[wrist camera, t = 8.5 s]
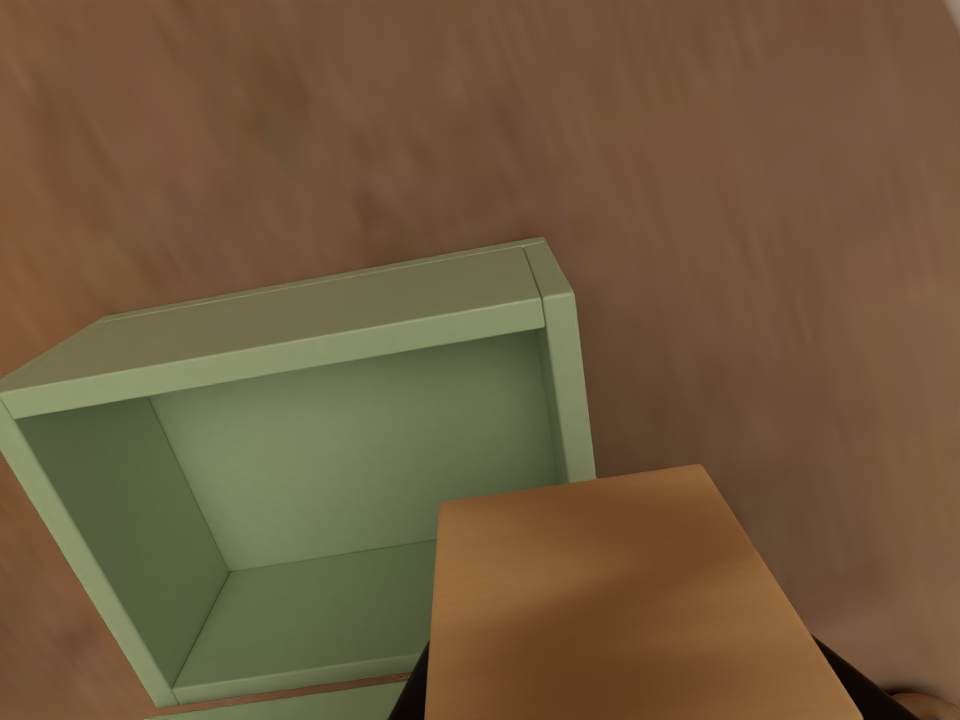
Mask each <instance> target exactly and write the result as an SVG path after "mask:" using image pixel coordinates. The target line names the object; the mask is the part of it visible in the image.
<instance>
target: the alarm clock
mask: <svg viewBox="0 0 960 720" xmlns="http://www.w3.org/2000/svg"><path fill="white" fill-rule="evenodd" d="M891 697H892V698H894V699H895V700H896V701H897V702H899V703H900V704H901V705H903V706H904V707H905V708H906V709H908V710H909V711H910V712H912V713H913V714H914V715H915V716H917V717H918V718H919V719H920V720H960V708H959V707H957V706H956V705H954V704H951V703H949V702H947V701H944V700H942V699H939V698H937V697H935V696H930V695H924V694H919V693H903V694H896V695H893V696H891Z"/></svg>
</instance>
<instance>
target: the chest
mask: <svg viewBox="0 0 960 720" xmlns="http://www.w3.org/2000/svg"><path fill="white" fill-rule="evenodd" d="M0 451H1V453H2V454H3V456H4V458H5V459H6V461H7V463H8V464H9V466H10V468H11V469H12V471H13V473H14V474H15V476H16V477H17V479H18V481H19V482H20V484H21V486H22V487H23V489H24V491H25V492H26V494H27V495H28V497H29V499H30V500H31V502H32V504H33V505H34V507H35V509H36V510H37V512H38V514H39V515H40V517H41V518H42V520H43V522H44V523H45V525H46V527H47V528H48V530H49V532H50V533H51V535H52V536H53V538H54V540H55V541H56V543H57V545H58V546H59V548H60V550H61V551H62V553H63V555H64V556H65V558H66V559H67V561H68V563H69V564H70V566H71V568H72V569H73V571H74V573H75V574H76V576H77V577H78V579H79V581H80V582H81V584H82V586H83V587H84V589H85V591H86V592H87V594H88V596H89V597H90V599H91V600H92V602H93V604H94V605H95V607H96V609H97V610H98V612H99V614H100V615H101V617H102V619H103V620H104V622H105V623H106V625H107V627H108V628H109V630H110V632H111V633H112V635H113V637H114V638H115V640H116V641H117V643H118V645H119V646H120V648H121V650H122V651H123V653H124V655H125V656H126V658H127V660H128V661H129V663H130V664H131V666H132V668H133V669H134V671H135V673H136V674H137V676H138V678H139V679H140V681H141V682H142V684H143V686H144V687H145V689H146V691H147V692H148V694H149V696H150V697H151V699H152V701H153V702H154V704H155V705H156V707H157V708H164V707H171V706H177V705H179V704H181V705H184V704H191V703H198V702H205V701H212V700H219V699H226V698H233V697H240V696H247V695H254V694H261V693H268V692H275V691H282V690H289V689H296V688H303V687H310V686H317V685H324V684H331V683H338V682H345V681H352V680H359V679H366V678H373V677H380V676H387V675H394V674H401V673H409V672H412V671H413V669H414V667H415V665H416V663H417V661H418V659H419V657H420V655H421V653H422V652H423V650H424V648H425V646H426V644H427V642H428V640H429V639H430V629H431V615H432V600H433V586H434V571H435V557H436V542H437V528H438V513H439V505H440V503H442V502H445V501H451V500H458V499H465V498H471V497H478V496H485V495H491V494H498V493H505V492H512V491H518V490H525V489H532V488H538V487H545V486H552V485H558V484H565V483H572V482H578V481H585V480H592V479H596V472H595V463H594V455H593V446H592V438H591V429H590V421H589V412H588V404H587V395H586V386H585V378H584V369H583V361H582V352H581V344H580V335H579V327H578V318H577V310H576V301H575V294H574V292H573V290H572V288H571V286H570V284H569V283H568V281H567V279H566V277H565V275H564V273H563V272H562V270H561V268H560V266H559V264H558V262H557V260H556V259H555V257H554V255H553V253H552V251H551V249H550V247H549V246H548V244H547V242H546V240H545V238H544V237H537V238H531V239H526V240H520V241H515V242H509V243H504V244H498V245H493V246H487V247H482V248H476V249H471V250H465V251H460V252H454V253H449V254H443V255H438V256H432V257H427V258H421V259H416V260H410V261H405V262H399V263H394V264H388V265H383V266H377V267H372V268H366V269H361V270H355V271H350V272H344V273H339V274H333V275H328V276H322V277H317V278H311V279H306V280H300V281H295V282H289V283H284V284H278V285H273V286H267V287H262V288H256V289H251V290H245V291H240V292H234V293H229V294H223V295H218V296H212V297H207V298H201V299H196V300H190V301H185V302H179V303H174V304H168V305H163V306H157V307H152V308H146V309H141V310H135V311H130V312H124V313H119V314H113V315H108V316H104V317H102V318H100V319H99V320H97V321H96V322H94V323H93V324H90V325H88V326H87V327H85V328H84V329H82V330H80V331H79V332H77V333H75V334H74V335H72V336H70V337H69V338H67V339H65V340H64V341H62V342H61V343H59V344H57V345H56V346H54V347H52V348H51V349H49V350H47V351H46V352H44V353H42V354H41V355H39V356H38V357H36V358H34V359H33V360H31V361H29V362H28V363H26V364H24V365H23V366H21V367H19V368H18V369H16V370H15V371H13V372H11V373H10V374H8V375H6V376H5V377H3V378H1V379H0Z"/></svg>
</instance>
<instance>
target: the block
mask: <svg viewBox="0 0 960 720" xmlns="http://www.w3.org/2000/svg"><path fill="white" fill-rule="evenodd" d="M424 720H863V716H862V714H861V713H860V711H859V710H858V708H857V707H856V705H855V703H854V702H853V700H852V699H851V697H850V696H849V694H848V692H847V691H846V689H845V688H844V686H843V685H842V683H841V681H840V680H839V678H838V677H837V675H836V674H835V672H834V671H833V669H832V667H831V666H830V664H829V663H828V661H827V660H826V658H825V656H824V655H823V653H822V652H821V650H820V649H819V647H818V646H817V644H816V642H815V641H814V639H813V638H812V636H811V635H810V633H809V631H808V630H807V628H806V627H805V625H804V624H803V622H802V621H801V619H800V617H799V616H798V614H797V613H796V611H795V610H794V608H793V606H792V605H791V603H790V602H789V600H788V599H787V597H786V596H785V594H784V592H783V591H782V589H781V588H780V586H779V585H778V583H777V581H776V580H775V578H774V577H773V575H772V574H771V572H770V571H769V569H768V567H767V566H766V564H765V563H764V561H763V560H762V558H761V556H760V555H759V553H758V552H757V550H756V549H755V547H754V546H753V544H752V542H751V541H750V539H749V538H748V536H747V535H746V533H745V531H744V530H743V528H742V527H741V525H740V524H739V522H738V520H737V519H736V517H735V516H734V514H733V513H732V511H731V510H730V508H729V506H728V505H727V503H726V502H725V500H724V499H723V497H722V495H721V494H720V492H719V491H718V489H717V488H716V486H715V485H714V483H713V481H712V480H711V478H710V477H709V475H708V474H707V472H706V470H705V469H704V467H703V466H702V465H701V464H692V465H686V466H679V467H672V468H665V469H659V470H652V471H645V472H639V473H632V474H625V475H619V476H612V477H605V478H599V479H592V480H585V481H578V482H572V483H565V484H558V485H552V486H545V487H538V488H532V489H525V490H518V491H512V492H505V493H498V494H491V495H485V496H478V497H471V498H465V499H458V500H451V501H445V502H442V503H440V505H439V513H438V528H437V542H436V557H435V571H434V586H433V600H432V615H431V629H430V644H429V658H428V673H427V687H426V702H425V716H424Z"/></svg>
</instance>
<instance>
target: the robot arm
mask: <svg viewBox="0 0 960 720" xmlns="http://www.w3.org/2000/svg"><path fill="white" fill-rule="evenodd" d="M810 635H811V636H812V638H813V639H814V641H815V642H816V644H817V646H818V647H819V649H820V650H821V652H822V653H823V655H824V656H825V658H826V660H827V661H828V663H829V664H830V666H831V667H832V669H833V671H834V672H835V674H836V675H837V677H838V678H839V680H840V681H841V683H842V685H843V686H844V688H845V689H846V691H847V692H848V694H849V696H850V697H851V699H852V700H853V702H854V703H855V705H856V707H857V708H858V710H859V711H860V713H861V714H862V716H863V720H920V719H919V718H918V717H917V716H915V715H914V714H913V713H912V712H910V711H909V710H908V709H906V708H905V707H904V706H903V705H901V704H900V703H899V702H897V701H896V700H895V699H894V698H892V697H891V696H890V695H888V694H887V693H886V692H885V691H883V690H882V689H881V688H879V687H878V686H877V685H876V684H874V683H873V682H872V681H871V680H869V679H868V678H867V677H865V676H864V675H863V674H862V673H860V672H859V671H858V670H856V669H855V668H854V667H853V666H851V665H850V664H849V663H847V662H846V661H845V660H844V659H842V658H841V657H840V656H839V655H837V654H836V653H835V652H833V651H832V650H831V649H830V648H828V647H827V646H826V645H824V644H823V643H822V642H821V641H819V640H818V639H817V638H815V637H814V636H813V635H812V634H810ZM429 644H430V639H429V640H428V642H427V644H426V646H425V648H424V650H423V652H422V653H421V655H420V657H419V659H418V661H417V663H416V665H415V667H414V669H413V671H412V673H411V675H410V677H409V679H408V680H407V682H406V684H405V686H404V688H403V690H402V692H401V694H400V696H399V698H398V700H397V702H396V704H395V706H394V707H393V709H392V711H391V713H390V715H389V717H388V719H387V720H424V716H425V702H426V687H427V673H428V658H429Z"/></svg>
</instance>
